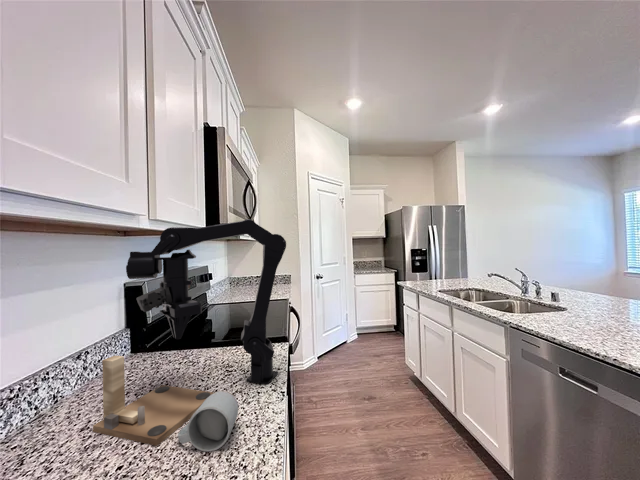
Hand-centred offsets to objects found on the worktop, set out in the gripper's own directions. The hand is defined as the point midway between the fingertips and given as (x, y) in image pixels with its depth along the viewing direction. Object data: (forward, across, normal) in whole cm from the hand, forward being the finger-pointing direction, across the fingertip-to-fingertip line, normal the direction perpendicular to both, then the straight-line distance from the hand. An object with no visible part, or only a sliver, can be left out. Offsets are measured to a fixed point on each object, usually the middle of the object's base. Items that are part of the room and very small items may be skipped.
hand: (177, 338), depth 74 cm
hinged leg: (+11, +8, -13) cm, 19 cm away
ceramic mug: (+13, +24, -2) cm, 27 cm away
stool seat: (+13, +8, -6) cm, 17 cm away
